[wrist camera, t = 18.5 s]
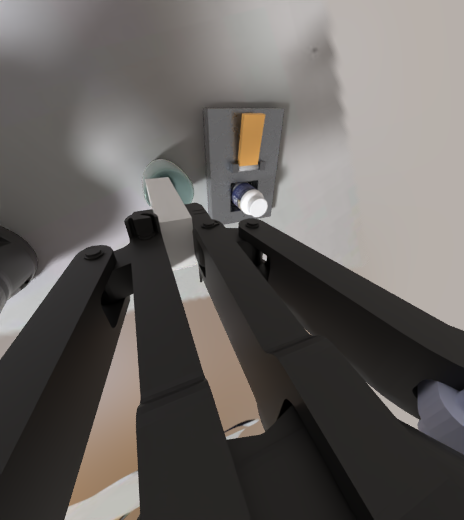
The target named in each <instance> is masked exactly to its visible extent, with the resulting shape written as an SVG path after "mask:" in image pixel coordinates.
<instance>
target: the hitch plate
mask: <svg viewBox="0 0 464 520" xmlns="http://www.w3.org/2000/svg"><path fill="white" fill-rule="evenodd" d="M242 113H263V114H265V120H264V127H263V133H262V140H261V146H260V152H259V159H258V165H259V168H258V170H250V171H239V172H238V164H237V163H238V152H239V141H240V130H241V119H242ZM283 115H284V109H282V108H203V120H204V139H205V157H206V176H207V194H208V213H209V216H210V217H211V219H215V220H218V221H220V222H221V223H222V224H223V225H224V224H229V223H235V222H240V221H242V220H244V219H248V218H255V219H258V218H264V217H269V216H271V209H272V201H273V193H274V185H275V178H276V170H277V162H278V154H279V146H280V139H281V131H282V123H283ZM246 181H252V186H253V187H254V188H256V189H257V190H259V191H260V192H261V193H262V194H263V196H264V199H265V200H266V202H267V205H268V207H267V210H266V212H265V213H264V214H263V215H262V216H260V217H253V216H252V215H247V214H245V213H244V212H243V211H242V210H241V209H240V208H238V207H237V206H231V207H230V198H231V183H237V182H246Z"/></svg>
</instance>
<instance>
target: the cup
mask: <svg viewBox="0 0 464 520" xmlns="http://www.w3.org/2000/svg"><path fill="white" fill-rule="evenodd" d="M163 177H169V179H170V181H171V183H172V184H173V186H174V188H175V189H176V191H177V193H178V195H179V196H180V198H181V200H182V201H183V203H184V204H190V203H191V202H192V199H193V196H194V188H193V185H192V183H191V181H190V179H189V178H188V176H187V175H186V174H185V173H184V171H183V170H182V169H181V168H180V167H178V166H177V165H176V164H174V163H173V162H171V161H168V160H165V159H157V160H154V161H152V162H151V163H149V164H148V165H147V167H146V168H145V170H144V172H143V176H142V188H143V193H144V197H145V199H146V201H147V203H148V204H149V206H150V207H151V205H150V201H149V196H148V191H147V187H146V182H145V179H153V178H163Z"/></svg>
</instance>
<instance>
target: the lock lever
mask: <svg viewBox="0 0 464 520" xmlns="http://www.w3.org/2000/svg"><path fill="white" fill-rule="evenodd" d="M264 120H265V114H263V113H242V119H241V130H240V141H239V152H238V163H237V164H238V172H239V171H250V170H258V168H259V165H258V159H259V152H260V146H261V140H262V133H263V127H264Z"/></svg>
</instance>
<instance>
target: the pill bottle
mask: <svg viewBox="0 0 464 520" xmlns="http://www.w3.org/2000/svg"><path fill="white" fill-rule="evenodd" d="M230 199H231V200H232V202H233V203H234V204H235V205H236V206H237V207H238V208H240V209H241V210H242V211H243V212H244V213H245V214H247V215H252V216H253V217H260V216H262V215H263V214H264V213H265V212H266V210H267V207H268V205H267V202H266V200H265V199H264V196H263V194H262V193H261V192H260V191H259V190H257V189H256V188H254V187H253V186H251V185H250V184H249V183H247V182H237V183H234V184H233V185H232V186H231V198H230Z"/></svg>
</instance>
